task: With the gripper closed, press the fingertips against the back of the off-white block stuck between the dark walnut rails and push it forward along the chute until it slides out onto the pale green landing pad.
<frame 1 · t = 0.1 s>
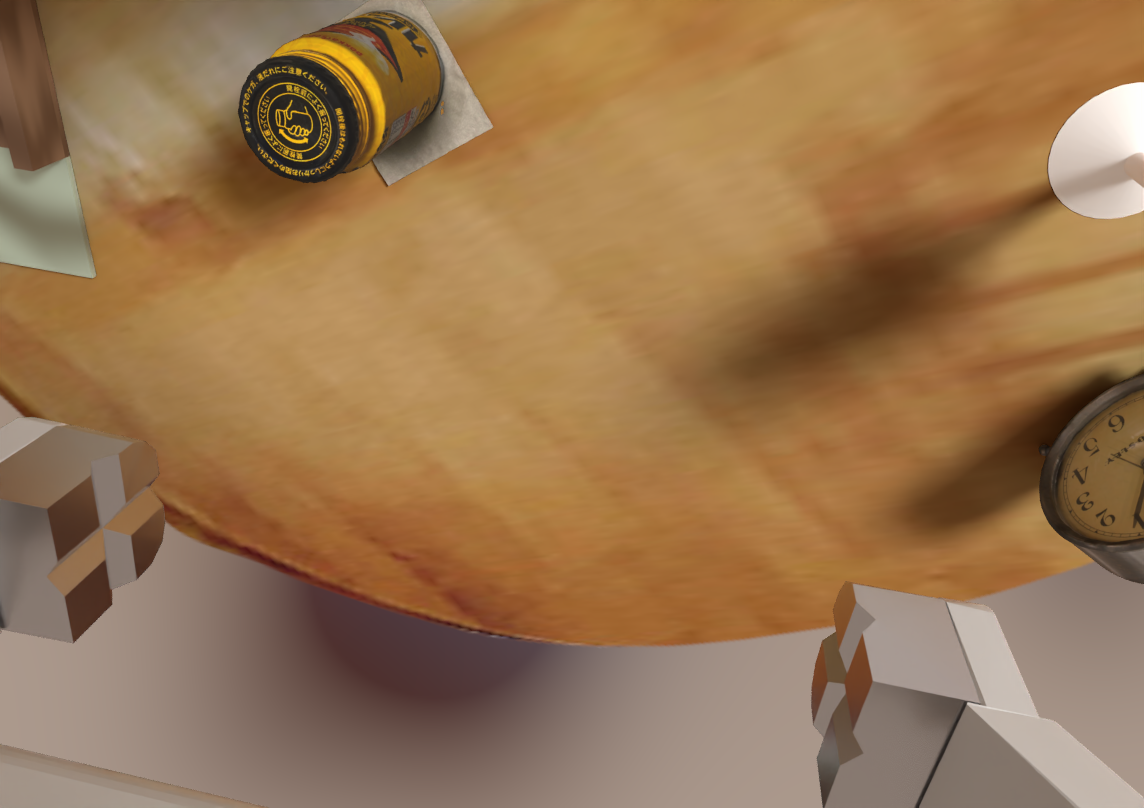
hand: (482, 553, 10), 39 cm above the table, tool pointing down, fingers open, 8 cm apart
condiment: (399, 85, 47), on the table
alarm clock: (1120, 409, 49), on the table
champagne flute: (1121, 152, 42), on the table
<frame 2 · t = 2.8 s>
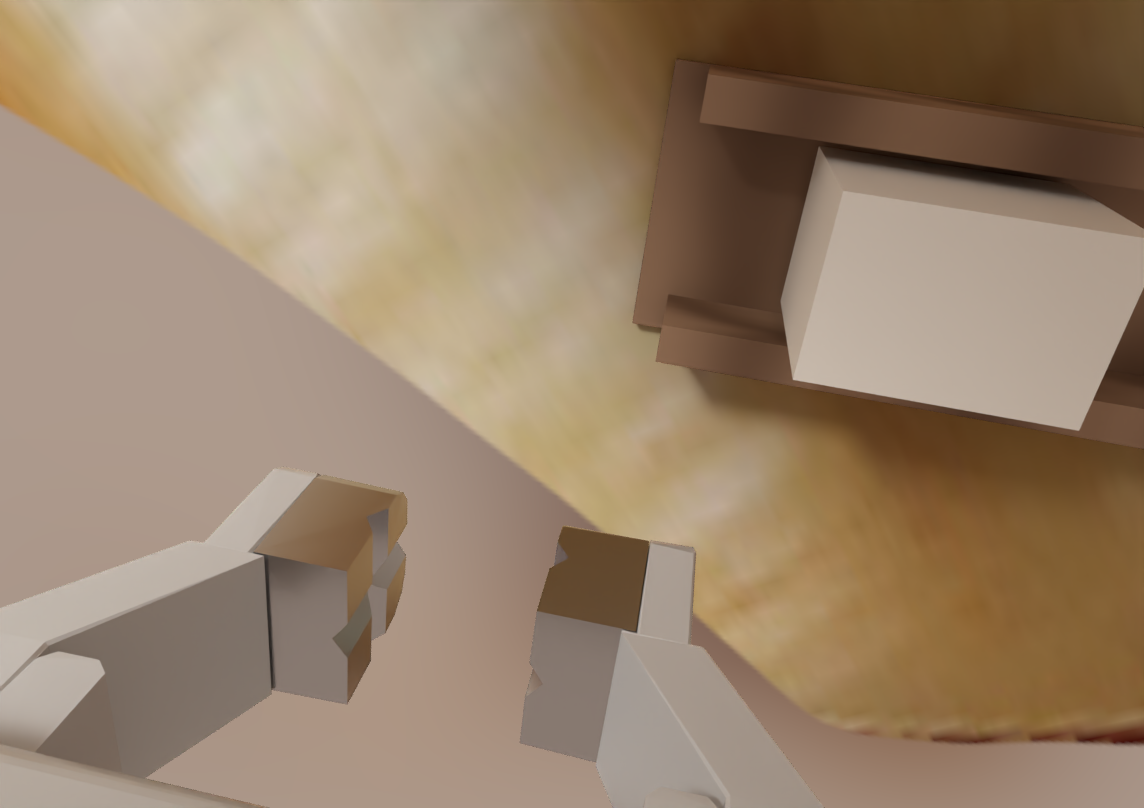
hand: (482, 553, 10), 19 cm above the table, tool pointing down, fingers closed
jammed block: (938, 276, 23), point 4 cm above the table, slide at 0.0 cm
chute: (1115, 272, 26), on the table
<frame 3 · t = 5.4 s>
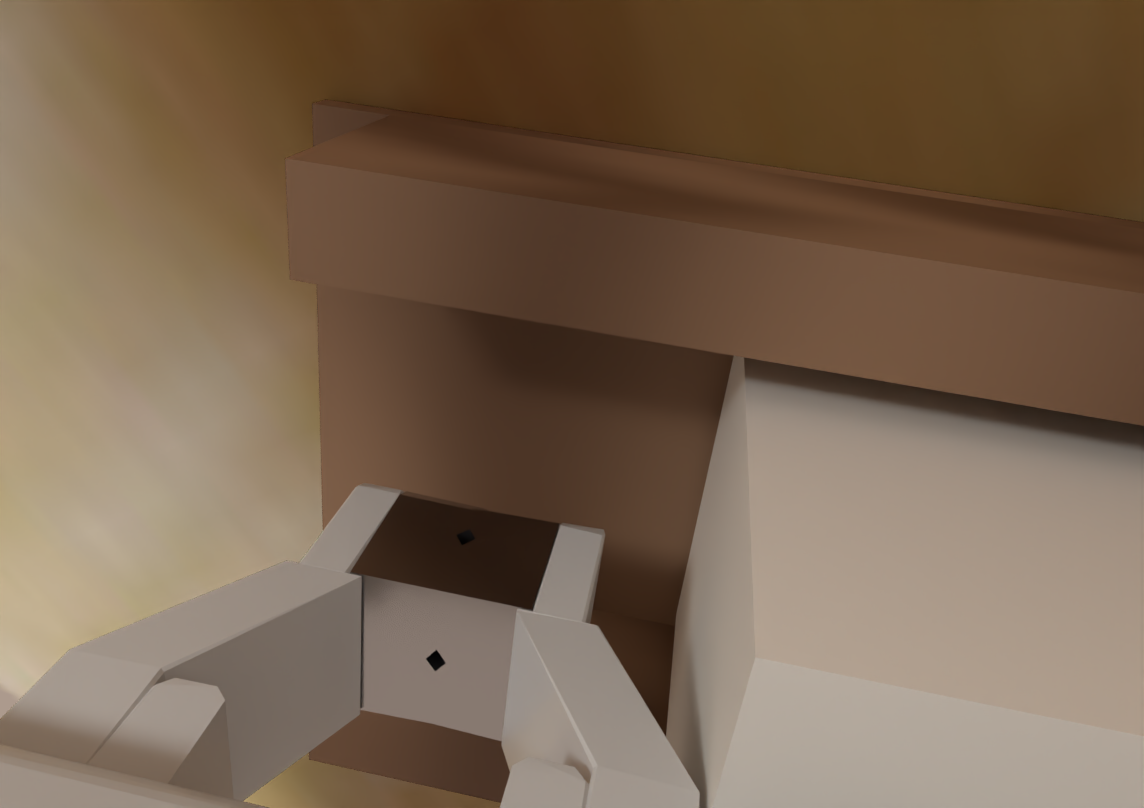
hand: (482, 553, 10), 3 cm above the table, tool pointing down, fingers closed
jammed block: (1040, 694, 9), point 4 cm above the table, slide at 1.2 cm, touching gripper
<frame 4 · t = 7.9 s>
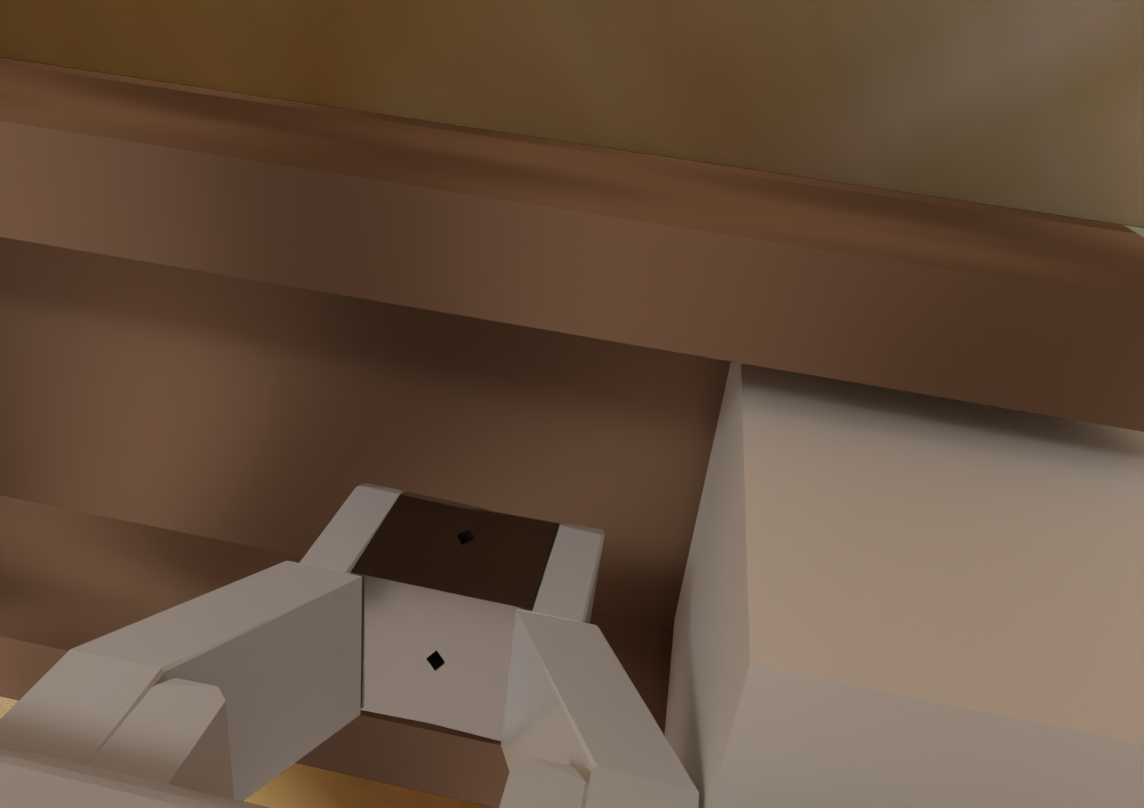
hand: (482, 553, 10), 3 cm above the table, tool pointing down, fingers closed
jammed block: (1038, 700, 9), point 4 cm above the table, slide at 10.3 cm, touching gripper
chute: (648, 448, 12), on the table
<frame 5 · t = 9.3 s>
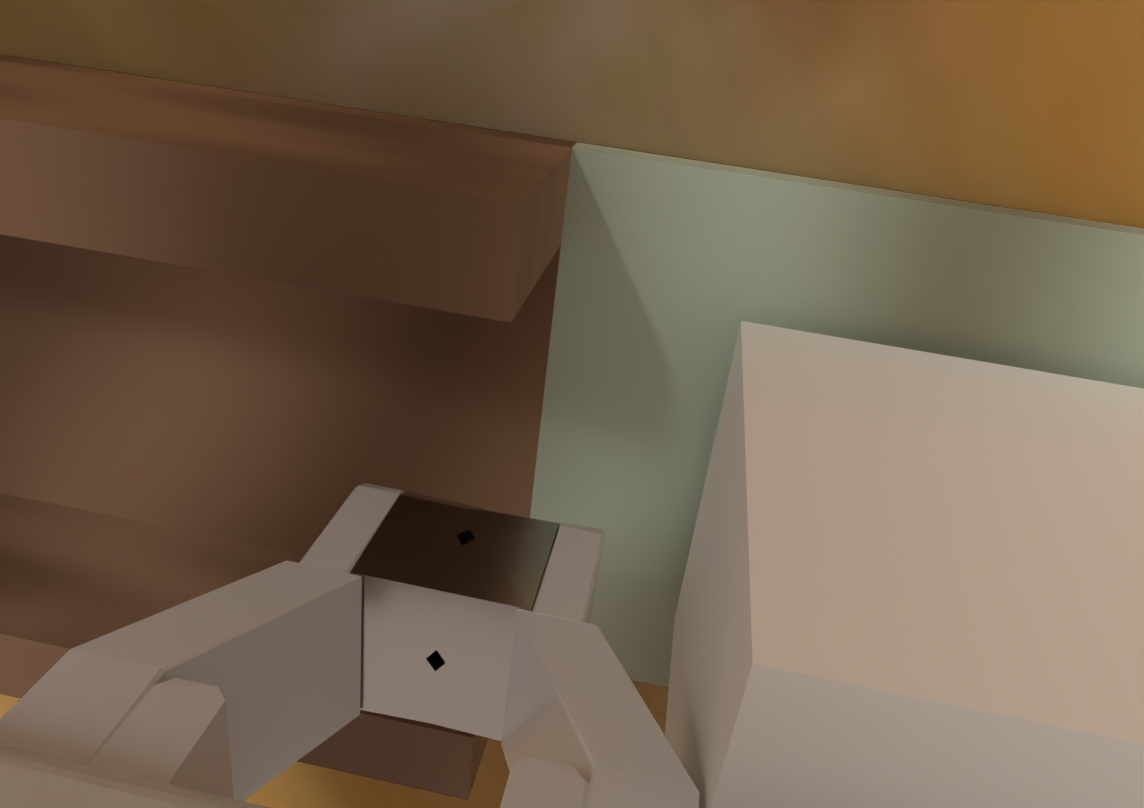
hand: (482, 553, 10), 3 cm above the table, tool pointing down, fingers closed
jammed block: (1038, 700, 9), point 4 cm above the table, slide at 16.9 cm, touching gripper
chute: (222, 368, 13), on the table
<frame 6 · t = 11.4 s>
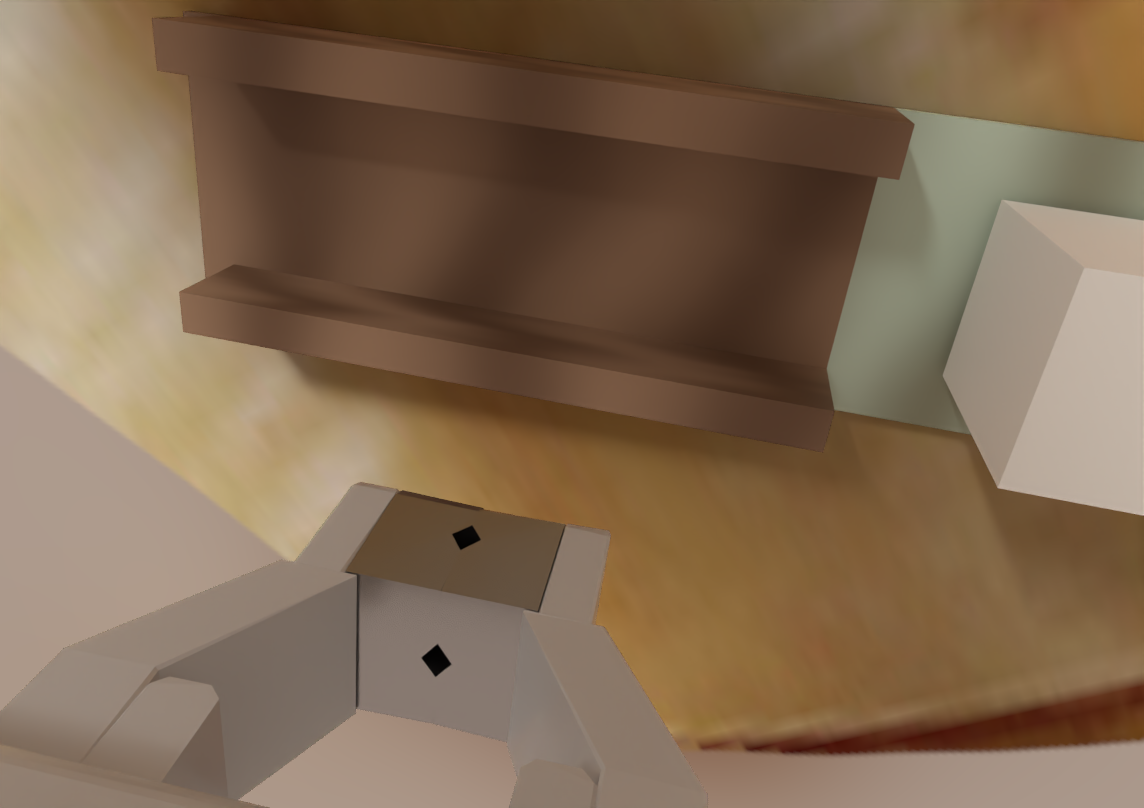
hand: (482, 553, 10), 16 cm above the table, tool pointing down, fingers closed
chute: (668, 236, 24), on the table
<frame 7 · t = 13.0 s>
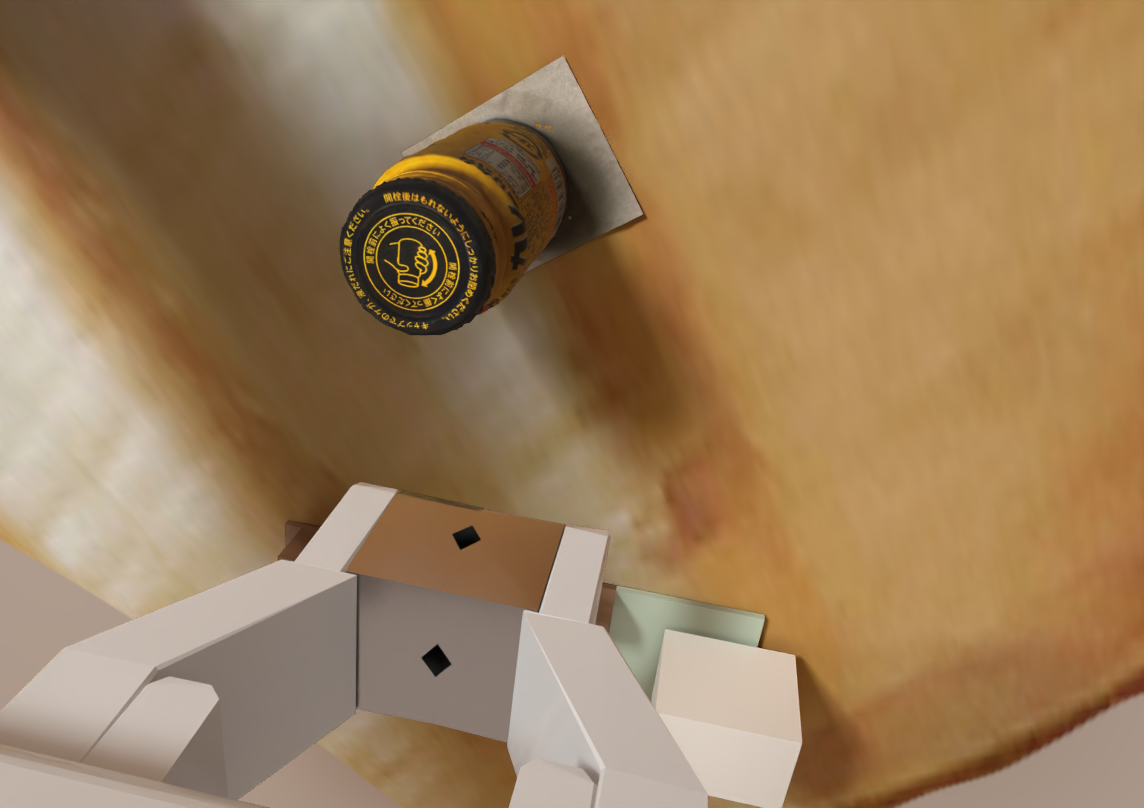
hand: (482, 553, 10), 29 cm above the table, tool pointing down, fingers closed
condiment: (522, 181, 38), on the table
jammed block: (720, 716, 44), point 4 cm above the table, slide at 17.5 cm
chute: (521, 624, 49), on the table
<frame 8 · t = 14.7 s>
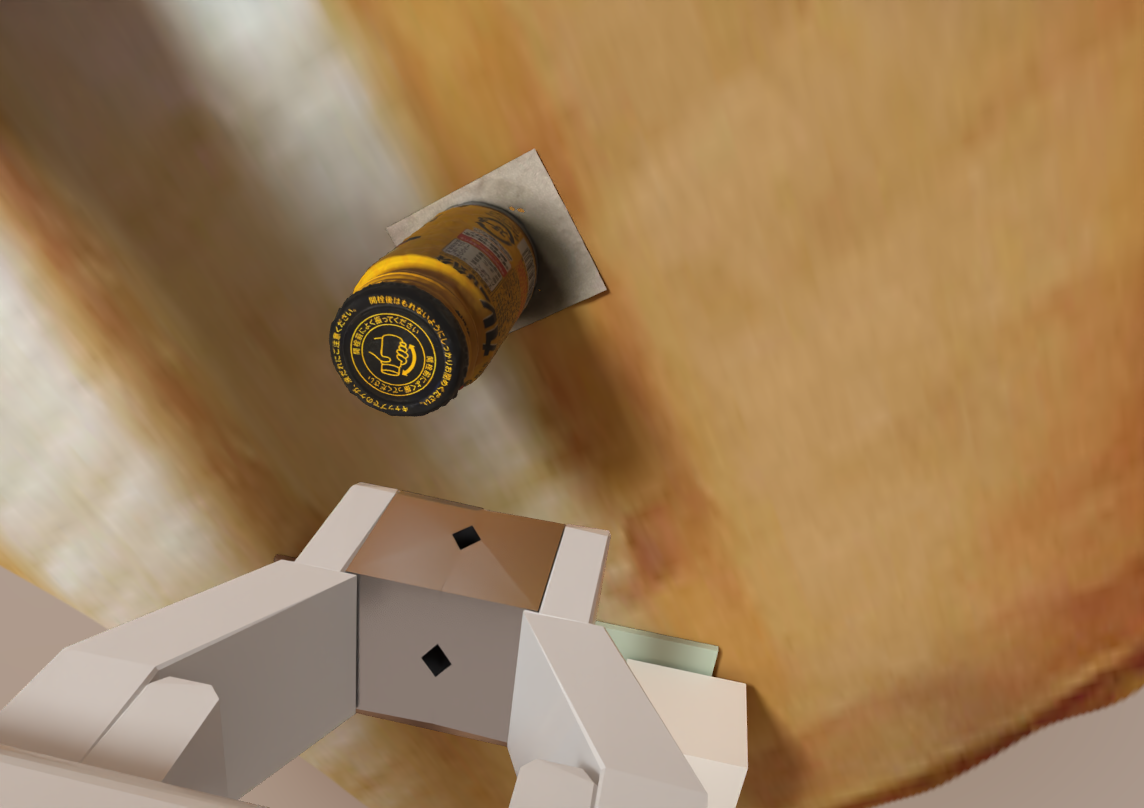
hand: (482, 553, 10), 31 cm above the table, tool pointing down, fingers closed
condiment: (497, 256, 42), on the table
jammed block: (676, 740, 48), point 4 cm above the table, slide at 17.5 cm
chute: (495, 652, 53), on the table
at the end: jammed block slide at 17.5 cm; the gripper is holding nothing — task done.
